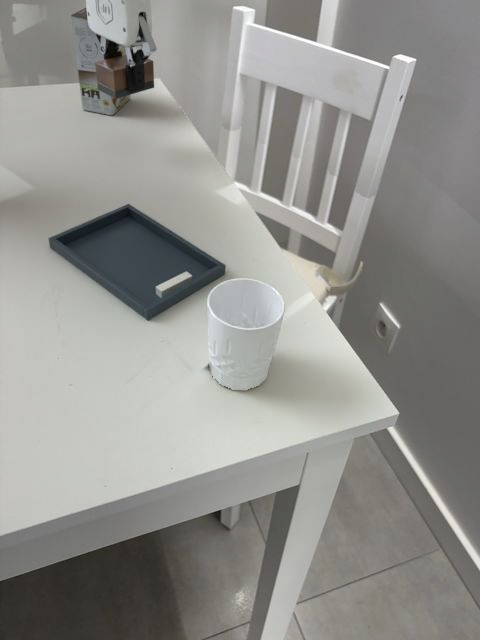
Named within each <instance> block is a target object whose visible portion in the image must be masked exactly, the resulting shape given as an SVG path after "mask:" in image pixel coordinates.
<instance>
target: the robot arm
mask: <svg viewBox="0 0 480 640" xmlns="http://www.w3.org/2000/svg"><path fill="white" fill-rule="evenodd" d="M151 5H152V4H151V0H85V8H86V9H87V19H88V25H89V27H90V29H91V30H92V31H93V32H94V33H96V36H97V38H98V40H99V42H100V44H101V45H100V49H101V52H102V53H103V54H105V55H104V60H106V59H110V58H114V57H118V56H122V52H121V51H118V50H119V45H122V46H125V50H126V55H127V60H128V64H129V65H126V78H127V90H128V91H129V92H131V93H132V92H135V91H139V90H142V89H144V88H145V75H144V64H145V63H146V62H147V59H149V58H150V56H151V55H153V54H155V53H156V52H157V45H156V43H155V41H154V38H153V36H152V33H153V24H152V23H153V22H152V21H153V20H152V6H151ZM134 48H136V51H135V52H134ZM134 53H135V54H134Z"/></svg>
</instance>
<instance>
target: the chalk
mask: <svg viewBox="0 0 480 640" xmlns="http://www.w3.org/2000/svg"><path fill="white" fill-rule="evenodd" d="M190 281H192V275H191V274H189V273H188V272H187V271H186V272H184V273H182V274H180V275H178V276H176V277H174V278H172V279H170V280H168V281H166V282H164V283H162V284H160V285H158V286H156V294H157V295H158V296H159V297H161V298H162V297H164V296H166V295H167V294H169V293H171V292H173V291H174V290H176V289H178V288H180V287H181V286H183V285H185V284H186V283H188V282H190Z"/></svg>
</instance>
